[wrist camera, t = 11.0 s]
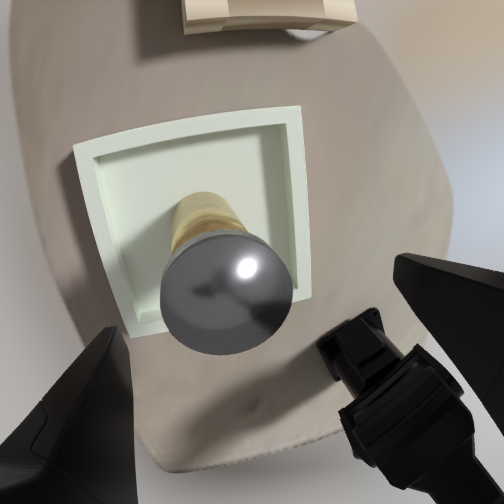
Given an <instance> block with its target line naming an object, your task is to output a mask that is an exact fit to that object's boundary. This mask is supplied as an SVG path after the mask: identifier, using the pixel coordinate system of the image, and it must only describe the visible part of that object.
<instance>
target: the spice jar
mask: <svg viewBox="0 0 504 504" xmlns="http://www.w3.org/2000/svg"><path fill="white" fill-rule="evenodd" d="M292 299H293V285H292V280H291V276H290V274H289V271H288V269H287V267H286V266H285V264H284V262H283V261H282V260H281V259H280V257H279V256H278V255H277V254H276V252H275V251H274V250H273V249H272V248H271V246H270V245H268V244H267V243H266V242H265V241H264V240H262V239H260V238H259V237H257V236H255V235H253V234H251V233H249V232H248V231H247V229H246V228H245V226H244V225H243V223H242V222H241V221H240V219H239V218H238V216H237V215H236V213H235V212H234V211H233V209H232V208H231V206H230V205H229V203H228V202H227V201H226V200H225V199H224V198H223V197H221V196H219V195H217V194H215V193H212V192H205V191H202V192H196V193H192V194H190V195H188V196H186V197H185V198H183V199H182V200H181V201H180V202H179V203H178V204H177V206H176V207H175V209H174V211H173V214H172V217H171V258H170V259H169V261H168V263H167V264H166V266H165V269H164V271H163V274H162V278H161V285H160V310H161V315H162V318H163V321H164V323H165V325H166V327H167V329H168V330H169V331H170V333H171V334H172V335H173V336H174V337H175V338H176V339H177V340H178V341H179V342H181V343H182V344H183V345H185V346H187V347H189V348H190V349H193V350H195V351H198V352H201V353H205V354H211V355H230V354H236V353H240V352H244V351H247V350H249V349H252V348H254V347H256V346H258V345H260V344H261V343H263V342H264V341H266V340H267V339H268V338H270V337H271V336H272V335H273V334H274V333H275V332H276V331H277V330H278V329H279V328H280V326H281V325H282V324H283V322H284V320H285V319H286V317H287V315H288V313H289V310H290V307H291V304H292Z"/></svg>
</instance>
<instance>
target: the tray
mask: <svg viewBox="0 0 504 504" xmlns="http://www.w3.org/2000/svg"><path fill="white" fill-rule="evenodd" d="M73 149H74V154H75V159H76V164H77V169H78V174H79V178H80V183H81V187H82V191H83V195H84V200H85V204H86V208H87V211H88V215H89V219H90V223H91V226H92V230H93V233H94V237H95V240H96V243H97V247H98V250H99V253H100V256H101V260H102V263H103V266H104V269H105V272H106V275H107V278H108V281H109V284H110V287H111V289H112V292H113V295H114V298H115V300H116V303H117V306H118V308H119V311H120V314H121V316H122V319H123V321H124V324H125V326H126V329H127V331H128V334H129V336H130V339H131V338H136V337H141V336H147V335H152V334H157V333H162V332H167V331H169V330H168V329H167V327H166V325H165V323H164V321H163V318H162V315H161V310H160V285H161V278H162V274H163V271H164V269H165V266H166V264H167V263H168V261H169V259H170V258H171V217H172V214H173V211H174V209H175V207H176V206H177V204H178V203H179V202H180V201H181V200H182V199H183V198H185V197H186V196H188V195H190V194H192V193H196V192H202V191H205V192H212V193H215V194H217V195H219V196H221V197H223V198H224V199H225V200H226V201H227V202H228V203H229V205H230V206H231V208H232V209H233V211H234V212H235V213H236V215H237V216H238V218H239V219H240V221H241V222H242V223H243V225H244V226H245V228H246V229H247V231H248V232H249V233H251V234H253V235H255V236H257V237H259V238H260V239H262V240H264V241H265V242H266V243H267V244H268V245H270V246H271V248H272V249H273V250H274V251H275V252H276V254H277V255H278V256H279V257H280V259H281V260H282V261H283V262H284V264H285V266H286V267H287V269H288V271H289V274H290V276H291V280H292V285H293V299H292V303H293V302H296V301H300V300H304V299H308V298H311V258H310V232H309V211H308V194H307V178H306V164H305V151H304V138H303V127H302V116H301V106H285V107H272V108H261V109H251V110H242V111H233V112H225V113H218V114H211V115H204V116H198V117H192V118H186V119H180V120H175V121H169V122H164V123H159V124H154V125H149V126H145V127H140V128H136V129H131V130H127V131H123V132H119V133H115V134H111V135H107V136H103V137H99V138H96V139H92V140H89V141H85V142H82V143H78V144H75V145H73Z"/></svg>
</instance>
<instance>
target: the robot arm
mask: <svg viewBox="0 0 504 504" xmlns="http://www.w3.org/2000/svg"><path fill="white" fill-rule="evenodd" d="M393 281H394V283H395V285H396V286H397V288H398V289H399V291H400V292H401V294H402V295H403V297H404V298H405V300H406V301H407V303H408V304H409V306H410V307H411V309H412V310H413V312H414V313H415V315H416V316H417V317H418V318H419V320H420V321H421V322H422V323H423V325H424V326H425V327H426V328H427V330H428V331H429V332H430V333H431V334H432V336H433V337H434V338H435V340H436V341H437V342H438V344H439V345H440V346H441V347H442V349H443V350H444V351H445V353H446V354H447V355H448V357H449V358H450V359H451V360H452V362H453V363H454V365H455V366H456V367H457V369H458V370H459V371H460V373H461V374H462V376H463V377H464V378H465V380H466V381H467V382H468V384H469V385H470V387H471V388H472V389H473V391H474V392H475V394H476V395H477V397H478V398H479V399H480V401H481V402H482V404H483V405H484V407H485V409H486V410H487V411H488V413H489V415H490V416H491V418H492V419H493V421H494V422H495V423H496V425H497V427H498V428H499V430H500V431H501V433H502V435H503V436H504V273H503V272H499V271H493V270H489V269H484V268H480V267H475V266H470V265H465V264H460V263H456V262H451V261H446V260H441V259H436V258H431V257H426V256H421V255H416V254H411V253H403V254H399V255H397V256H396V257H395V260H394V271H393ZM317 348H318V350H319V352H320V354H321V356H322V358H323V359H324V361H325V363H326V365H327V367H328V369H329V371H330V373H331V375H332V377H333V379H334V380H335V381H340V380H342V381H343V383H344V384H345V386H346V387H347V389H348V390H349V392H350V393H351V395H352V396H353V398H354V399H355V400H354V401H352V402H351V403H350V404H349V405H347V406H346V407H345V408H342V409H340V410H339V411H338V413H339V415H340V418H341V419H340V421H341V423H342V425H343V428H344V430H345V433H346V435H347V437H348V440H349V442H350V445H351V447H352V452H353V456H354V457H355V458H356V459H361V460H363V461H364V462H365V463H366V464H368V465H369V466H370V467H372V468H375V467H378V468H379V470H380V471H381V472H382V473H383V475H384V476H385V477H386V479H387V480H388V481H389V483H390V484H391V485H392V486H394V487H397V488H399V489H401V490H405V489H406V488H411V489H414V490H418V491H421V492H425V493H428V494H429V495H430V496H431V497H432V499H433V500H434V501H435V502H436V504H504V493H503V491H502V490H501V489H500V487H499V486H498V485H497V483H496V482H495V481H494V479H493V478H492V477H491V475H490V474H489V473H488V472H487V470H486V469H485V468H484V467H483V465H482V464H481V463H480V461H479V460H478V459H477V458H476V456H475V443H474V433H475V428H474V421H473V418H472V414H471V412H470V411H469V410H468V408H467V407H466V406H465V405H464V403H463V402H462V401H461V400H460V397H461V396H462V395H463V394H464V391H463V389H462V387H461V386H460V385H459V383H458V382H457V381H456V379H455V378H454V377H453V376H452V375H451V374H450V373H449V372H448V370H447V369H446V368H445V367H444V366H442V364H440V363H439V362H438V361H437V360H436V359H435V358H434V357H432V356H431V355H430V354H429V353H428V352H427V351H426V350H424V349H423V348H422V347H421V346H420V345H419V344H418V343H417V344H416V345H415V346H414V347H413V349H412V350H411V351H410V352H409V353H408V354H407V355H406V356H404V355H403V354H402V353H401V352H400V350H399V349H398V348H397V347H396V346H395V345H394V344H393V343H392V342H391V341H390V340H389V339H388V338H387V336H386V335H385V332H384V328H383V324H382V320H381V316H380V313H379V310H378V309H377V308H375V307H374V308H371V309H370V310H368V311H367V312H365V313H364V314H362V315H361V316H359V317H358V318H356V319H355V320H353V321H352V322H350V323H348V324H347V325H345V326H344V327H342V328H341V329H339V330H337V331H336V332H334V333H333V334H331V335H329V336H328V337H326V338H324V339H323V340H321V341H320V342H319V343H318V344H317ZM0 504H138V497H137V485H136V471H135V452H134V403H133V388H132V379H131V369H130V357H129V351H128V347H127V345H126V343H125V341H124V338H123V336H122V334H121V332H120V329H119V328H118V327H117V326H111V327H105V328H104V329H103V330H102V331H101V332H100V333H99V334H98V335H97V336H96V337H95V338H94V339H93V341H92V342H91V343H90V344H89V345H88V346H87V347H86V348H85V349H84V351H83V352H82V353H81V354H80V355H79V356H78V357H77V358H76V360H75V361H74V362H73V363H72V364H71V365H70V367H69V368H68V369H67V370H66V371H65V372H64V373H63V375H62V376H61V377H60V378H59V379H58V380H57V381H56V383H55V384H54V385H53V386H52V387H51V388H50V390H49V391H48V392H47V393H46V394H45V396H44V397H43V398H42V401H39V403H38V404H37V405H36V406H35V408H34V409H33V410H32V411H31V412H30V413H29V415H28V416H27V417H26V418H25V419H24V420H23V422H22V423H21V424H20V425H19V426H18V427H17V428H16V429H15V430H14V431H13V432H12V433H11V434H10V435H9V436H8V437H7V439H6V440H5V441H4V442H3V443H2V444H1V445H0Z"/></svg>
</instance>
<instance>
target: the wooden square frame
mask: <svg viewBox="0 0 504 504" xmlns="http://www.w3.org/2000/svg"><path fill="white" fill-rule="evenodd" d="M181 10H182V20H183V30H184V35H189V34H197V33H206V32H217V31H230V30H249V29H300V30H319V31H332V32H335V31H338V30H340V29H342V28H345V27H347V26H350V25H352V24H355V23H357V22H358V20H357V14H356V9H355V3H354V0H181Z"/></svg>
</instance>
